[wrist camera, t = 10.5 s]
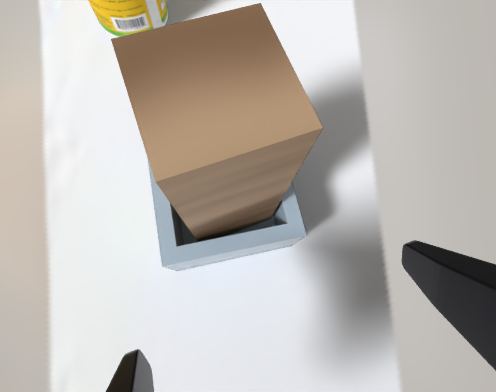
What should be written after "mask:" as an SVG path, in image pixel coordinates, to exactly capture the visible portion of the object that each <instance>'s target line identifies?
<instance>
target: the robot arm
mask: <svg viewBox="0 0 496 392" xmlns="http://www.w3.org/2000/svg"><path fill="white" fill-rule="evenodd" d="M402 265H403V267H404V269H405V270H406V271H407V273H408V274H409V275H410V276H411V278H412V279H413V280H414V282H415V283H416V284H417V285H418V287H419V288H420V289H421V290H422V292H423V293H424V294H425V295H426V297H427V298H428V299H429V300H430V302H431V303H432V304H433V305H434V306H435V307H436V309H438V311H439V312H440V313H441V314H442V315H443V316H444V317H445V318H446V319H447V320H448V321H449V322H450V323H451V324H452V325H453V326H454V327H455V328H456V330H458V332H459V333H460V334H461V335H462V336H463V337H464V338H465V339H466V340H467V341H468V342H469V343H470V344H471V345H472V346H473V347H474V348H475V349H476V350H477V352H479V353H480V355H481V356H482V357H483V358H484V359H485V360H486V361H487V362H488V363H489V364H490V365H491V366H492V367H493V368H494V369H495V370H496V265H495V264H492V263H489V262H486V261H482V260H479V259H476V258H472V257H469V256H466V255H463V254H459V253H456V252H453V251H449V250H446V249H443V248H439V247H436V246H433V245H430V244H426V243H423V242H419V241H411V242H409V243H406V244H404V245H403V250H402ZM106 392H154V387H153V378H152V370H151V367H150V364H149V363H148V361H147V359H146V358H145V356H144V355H143V353H142V352H141V351H140V350H139V349H137V350H134V351H131V352H129V353H127V354H125V355H124V357H123V358H122V360H121V362H120V364H119V366H118V368H117V370H116V372H115V374H114V376H113V378H112V380H111V382H110V384H109V386H108V388H107V390H106Z"/></svg>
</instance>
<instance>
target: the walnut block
mask: <svg viewBox="0 0 496 392" xmlns="http://www.w3.org/2000/svg"><path fill="white" fill-rule="evenodd" d="M111 40H112V44H113V47H114V50H115V53H116V57H117V60H118V63H119V66H120V70H121V73H122V76H123V79H124V82H125V86H126V89H127V92H128V95H129V99H130V102H131V105H132V108H133V111H134V115H135V118H136V121H137V124H138V128H139V131H140V134H141V137H142V141H143V144H144V147H145V150H146V153H147V157H148V160H149V163H150V166H151V170H152V173H153V176H154V179H155V182H156V184H157V185H158V186H159V188H160V189H161V191H162V192H163V193H164V195H165V196H166V198H167V199H168V200H169V202H170V203H171V205H172V206H173V207H174V209H175V210H176V212H177V213H178V214H179V216H180V217H181V219H182V220H183V221H184V223H185V224H186V226H187V227H188V228H189V230H190V231H191V233H192V234H193V235H194V237H195V238H196V240H197V241H198V242H201V241H206V240H211V239H216V238H220V237H223V236H226V235H229V234H231V233H234V232H237V231H240V230H242V229H245V228H248V227H251V226H253V225H256V224H259V223H261V222H264V221H267V220H270V218H271V217H272V215H273V213H274V211H275V210H276V208H277V206H278V205H279V203H280V201H281V199H282V198H283V196H284V194H285V192H286V191H287V189H288V187H289V186H290V184H291V182H292V180H293V179H294V177H295V175H296V174H297V172H298V170H299V168H300V167H301V165H302V163H303V161H304V160H305V158H306V156H307V155H308V153H309V151H310V149H311V148H312V146H313V144H314V143H315V141H316V139H317V137H318V136H319V134H320V132H321V130H322V129H323V127H322V125H321V123H320V121H319V119H318V117H317V115H316V113H315V111H314V109H313V107H312V105H311V103H310V101H309V99H308V97H307V95H306V93H305V91H304V89H303V87H302V85H301V83H300V81H299V79H298V77H297V75H296V73H295V71H294V69H293V67H292V65H291V63H290V61H289V59H288V57H287V55H286V53H285V51H284V49H283V47H282V45H281V43H280V41H279V39H278V37H277V35H276V33H275V31H274V29H273V27H272V25H271V23H270V21H269V19H268V17H267V15H266V13H265V11H264V9H263V7H262V5H261V3H259V4H255V5H250V6H246V7H242V8H238V9H234V10H230V11H225V12H221V13H217V14H213V15H209V16H205V17H200V18H196V19H192V20H188V21H184V22H180V23H175V24H171V25H167V26H163V27H159V28H155V29H150V30H146V31H142V32H138V33H134V34H130V35H125V36H121V37H117V38H113V39H111Z"/></svg>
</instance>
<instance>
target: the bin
mask: <svg viewBox="0 0 496 392" xmlns="http://www.w3.org/2000/svg"><path fill="white" fill-rule="evenodd" d="M148 164H149V171H150V179H151V186H152V194H153V201H154V209H155V216H156V224H157V231H158V239H159V246H160V254H161V261H162V267H165V268H169V269H172V270H175V271H179V270H183V269H188V268H192V267H197V266H202V265H206V264H211V263H215V262H220V261H225V260H229V259H234V258H238V257H243V256H248V255H252V254H257V253H261V252H266V251H271V250H275V249H280V248H284V247H289V246H292V245H293V244H295V243H296V242H298V241H299V240H301V239H302V238H304V237H305V236H307V235H306V231H305V228H304V224H303V221H302V217H301V213H300V210H299V206H298V202H297V199H296V195H295V192H294V188H293V184H292V182H291V184H290V186H289V187H288V189H287V191H286V192H285V194H284V196H283V198H282V199H281V201H280V203H279V205H278V206H277V208H276V210H275V211H274V213H273V215H272V217H271V218H270V220H267V221H264V222H261V223H259V224H256V225H253V226H251V227H248V228H245V229H242V230H240V231H237V232H234V233H231V234H229V235H226V236H223V237H220V238H216V239H211V240H206V241H201V242H198V241H197V240H196V238H195V237H194V235H193V234H192V233H191V231H190V230H189V228H188V227H187V226H186V224H185V223H184V221H183V220H182V219H181V217H180V216H179V214H178V213H177V212H176V210H175V209H174V207H173V206H172V205H171V203H170V202H169V200H168V199H167V198H166V196H165V195H164V193H163V192H162V191H161V189H160V188H159V186H158V185H157V184H156V182H155V179H154V176H153V173H152V170H151V166H150V163H149V160H148Z"/></svg>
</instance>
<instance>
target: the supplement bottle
mask: <svg viewBox="0 0 496 392" xmlns="http://www.w3.org/2000/svg"><path fill="white" fill-rule="evenodd" d="M88 1H89V3H90V5H91V7H92V9H93V11H94V13H95V15H96V17H97V19H98V21H99V22H100V24H101V26H102V28H103V29H104V30H105V31H106V32H107V33H108V34H109V35H110V36H111V37H113V38H117V37H121V36H125V35H130V34H134V33H138V32H142V31H146V30H150V29H155V28H159V27H163V26H165V25H166V23H167V20H168V8H167V3H166V0H88Z"/></svg>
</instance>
